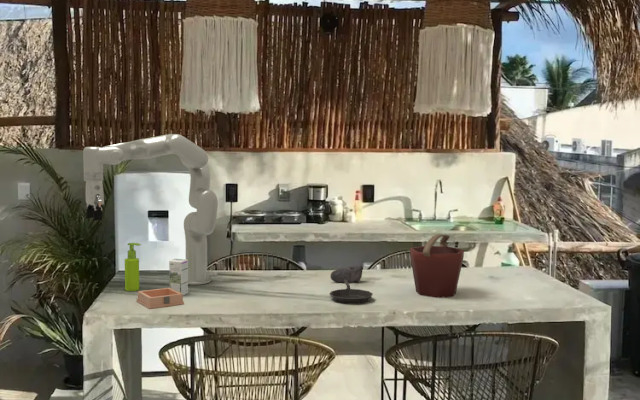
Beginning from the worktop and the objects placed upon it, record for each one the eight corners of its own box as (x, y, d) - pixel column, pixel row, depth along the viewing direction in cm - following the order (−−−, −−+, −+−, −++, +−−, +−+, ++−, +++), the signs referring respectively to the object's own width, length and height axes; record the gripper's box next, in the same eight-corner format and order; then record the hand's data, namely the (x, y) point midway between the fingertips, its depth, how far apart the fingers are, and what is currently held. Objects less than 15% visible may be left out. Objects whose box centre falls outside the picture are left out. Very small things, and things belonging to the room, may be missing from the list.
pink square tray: (170, 297, 281) (170, 287, 280) (184, 304, 269) (184, 294, 269) (136, 301, 273) (136, 291, 272) (149, 308, 261) (149, 298, 261)
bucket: (433, 284, 310) (434, 229, 308) (475, 293, 294) (477, 235, 292) (398, 293, 293) (400, 234, 291) (441, 302, 277) (443, 240, 275)
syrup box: (188, 293, 288) (188, 259, 287) (181, 296, 282) (180, 261, 281) (176, 292, 290) (176, 258, 288) (168, 295, 284) (168, 260, 283)
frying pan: (331, 305, 270) (331, 296, 270) (324, 287, 302) (324, 279, 302) (376, 305, 272) (376, 295, 272) (364, 287, 304) (365, 279, 303)
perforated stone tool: (330, 283, 310) (331, 268, 310) (329, 281, 315) (329, 266, 315) (363, 283, 312) (364, 268, 311) (362, 281, 317) (362, 266, 316)
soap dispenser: (137, 291, 290) (137, 244, 288) (122, 290, 291) (121, 243, 289) (144, 288, 296) (143, 242, 294) (129, 287, 297) (128, 241, 295)
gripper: (109, 178, 275) (110, 220, 277) (96, 175, 289) (97, 216, 291) (90, 178, 271) (91, 221, 272) (78, 176, 285) (79, 217, 287)
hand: (94, 219), depth 282 cm, fingers open, 9 cm apart
